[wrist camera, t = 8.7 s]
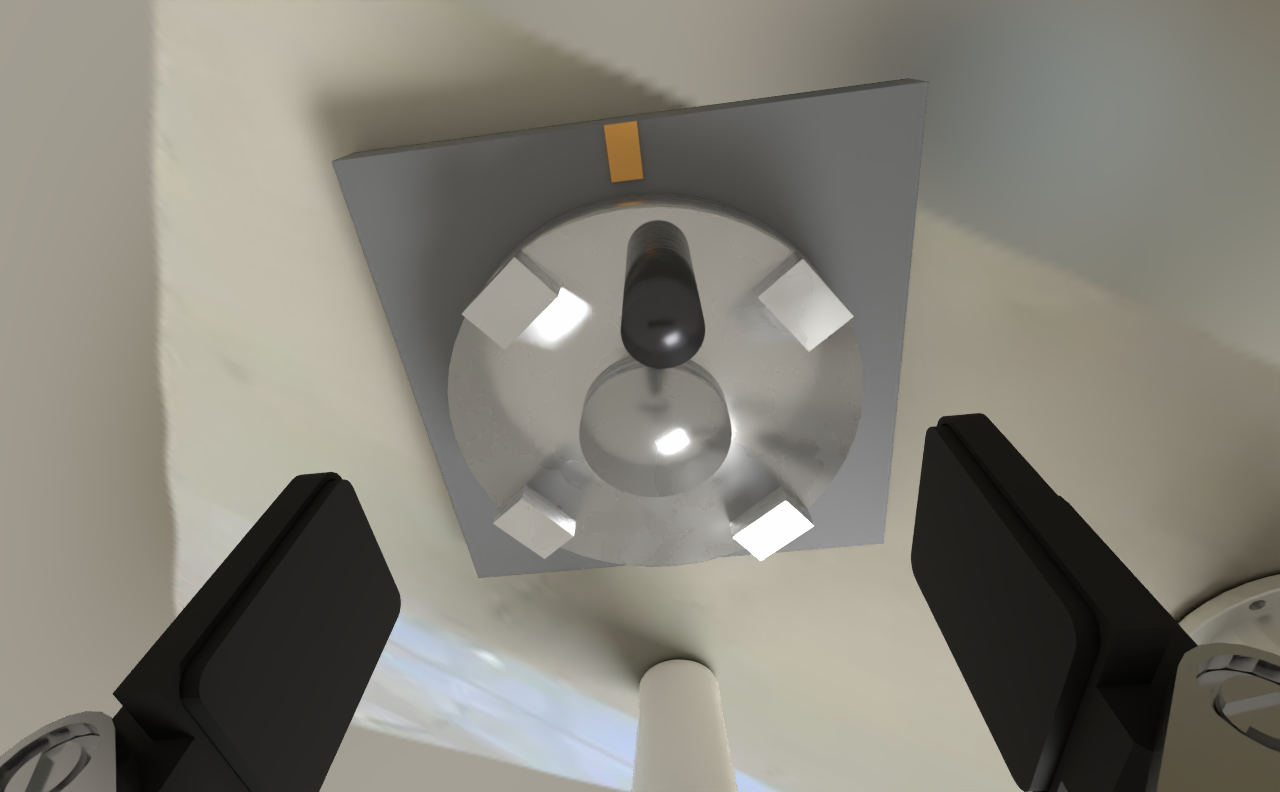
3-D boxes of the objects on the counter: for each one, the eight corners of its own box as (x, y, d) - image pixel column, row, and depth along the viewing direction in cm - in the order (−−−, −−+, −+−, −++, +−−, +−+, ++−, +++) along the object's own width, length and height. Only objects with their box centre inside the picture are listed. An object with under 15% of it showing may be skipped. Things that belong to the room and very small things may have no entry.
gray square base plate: (907, 78, 24) (930, 81, 22) (871, 518, 34) (884, 546, 33) (353, 152, 25) (329, 162, 23) (486, 551, 36) (477, 580, 34)
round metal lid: (434, 191, 24) (321, 273, 15) (881, 194, 23) (1008, 277, 15) (487, 529, 32) (433, 699, 24) (815, 532, 32) (875, 703, 24)
